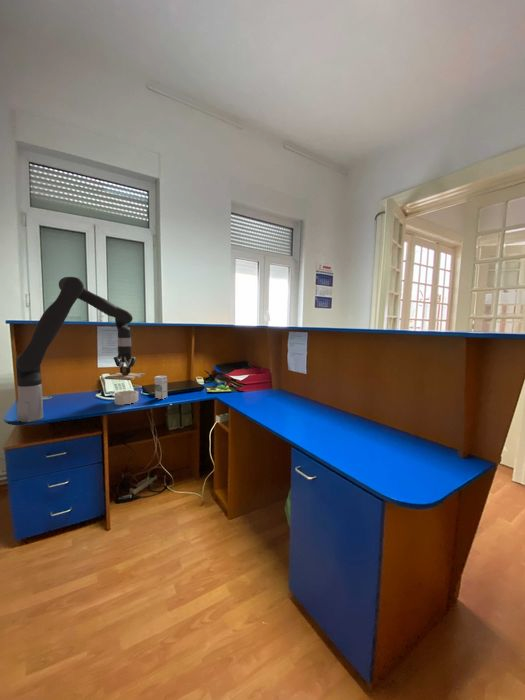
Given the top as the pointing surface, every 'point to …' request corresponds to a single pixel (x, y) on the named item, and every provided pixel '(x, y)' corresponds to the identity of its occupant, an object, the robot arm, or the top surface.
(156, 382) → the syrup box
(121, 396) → the cream bowl
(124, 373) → the oak lid
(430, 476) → the top surface
